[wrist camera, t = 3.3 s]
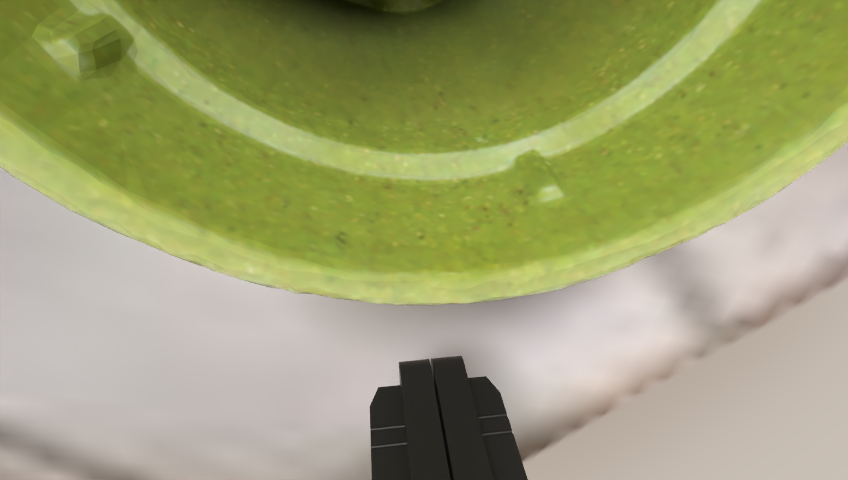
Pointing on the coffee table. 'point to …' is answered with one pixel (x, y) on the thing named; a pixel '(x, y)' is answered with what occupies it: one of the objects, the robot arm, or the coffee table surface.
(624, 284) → the coffee table surface
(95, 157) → the plant pot
